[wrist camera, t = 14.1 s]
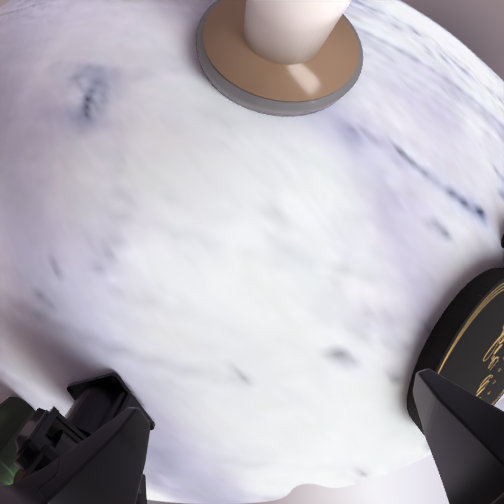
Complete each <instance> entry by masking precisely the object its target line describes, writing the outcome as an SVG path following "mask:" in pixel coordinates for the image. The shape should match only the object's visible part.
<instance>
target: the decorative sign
mask: <svg viewBox="0 0 504 504" xmlns="http://www.w3.org/2000/svg"><path fill="white" fill-rule="evenodd" d="M501 246H502V248H504V235H503V238H502V242H501ZM424 369H431V370H433V371H434V372H436V373H438V374H439V375H441V376H443V377H445V378H446V379H448V380H450V381H451V382H453V383H455V384H457V385H458V386H460V387H462V388H464V389H465V390H467V391H469V392H470V393H472V394H474V395H476V396H477V397H479V398H481V399H483V400H484V401H486V402H488V403H490V404H491V405H493V406H494V405H495V404H496V402H497V401H498V400H499V399H500V397H501V396H502V395H503V394H504V268H493V269H490V270H487V271H485V272H483V273H481V274H480V275H478V276H477V277H475V278H474V279H473V280H471V282H469V283H468V284H467V285H466V286H465V287H464V288H463V289H462V290H461V291H460V293H459V294H458V295H457V296H456V297H455V298H454V300H453V301H452V302H451V303H450V305H449V306H448V307H447V309H446V310H445V311H444V313H443V314H442V316H441V317H440V319H439V320H438V322H437V324H436V325H435V327H434V329H433V330H432V332H431V334H430V336H429V338H428V339H427V341H426V343H425V345H424V347H423V350H422V352H421V354H420V356H419V359H418V361H417V364H416V366H415V369H414V372H413V375H412V378H411V382H410V385H409V390H408V396H407V408H408V412H409V415H410V417H411V418H412V420H413V421H414V423H415V424H416V425H417V426H418V428H419V429H420V430H421V432H422V433H423V434H424V431H423V428H422V424H421V420H420V417H419V413H418V410H417V406H416V403H415V399H414V396H413V387H414V382H415V376H416V373H417V372H418V371H421V370H424ZM424 435H425V434H424Z"/></svg>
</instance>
